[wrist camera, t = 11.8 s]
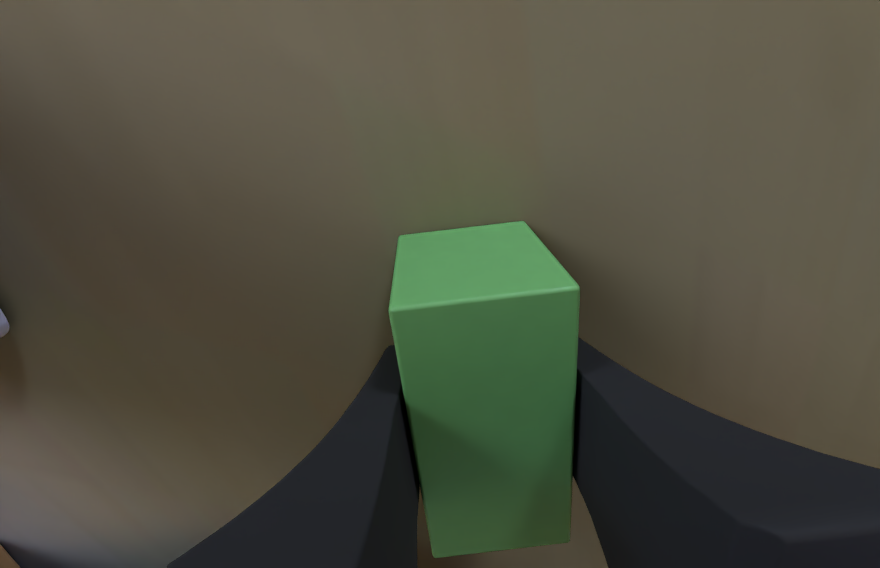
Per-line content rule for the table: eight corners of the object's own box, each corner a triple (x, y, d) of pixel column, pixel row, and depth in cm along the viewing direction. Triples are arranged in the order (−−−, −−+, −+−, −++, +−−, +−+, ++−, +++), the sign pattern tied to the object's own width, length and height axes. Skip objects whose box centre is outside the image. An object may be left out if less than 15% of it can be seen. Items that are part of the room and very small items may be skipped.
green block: (397, 234, 11) (387, 308, 7) (524, 219, 11) (582, 285, 7) (428, 432, 14) (433, 560, 10) (529, 420, 14) (571, 543, 10)
